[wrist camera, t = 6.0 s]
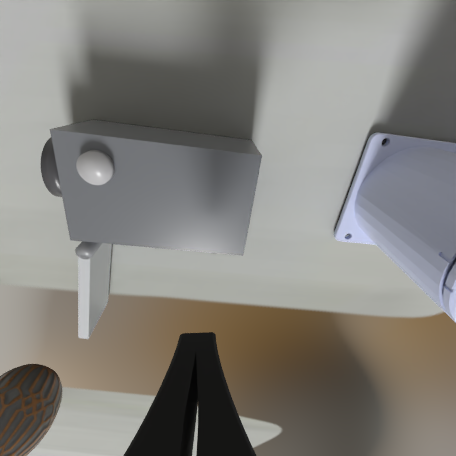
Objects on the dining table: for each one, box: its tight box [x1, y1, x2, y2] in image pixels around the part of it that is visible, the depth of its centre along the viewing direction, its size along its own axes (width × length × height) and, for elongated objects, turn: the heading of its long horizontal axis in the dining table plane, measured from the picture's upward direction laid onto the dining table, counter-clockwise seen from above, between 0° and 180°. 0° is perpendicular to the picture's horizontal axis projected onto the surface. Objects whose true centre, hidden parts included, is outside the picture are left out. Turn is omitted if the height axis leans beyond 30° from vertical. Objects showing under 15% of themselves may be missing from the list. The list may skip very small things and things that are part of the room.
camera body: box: [41, 120, 262, 255], centre depth 15 cm, size 11×6×5 cm, turn 83°
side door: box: [76, 241, 112, 339], centre depth 19 cm, size 8×1×4 cm, turn 165°
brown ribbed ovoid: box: [0, 364, 62, 456], centre depth 24 cm, size 7×7×9 cm
